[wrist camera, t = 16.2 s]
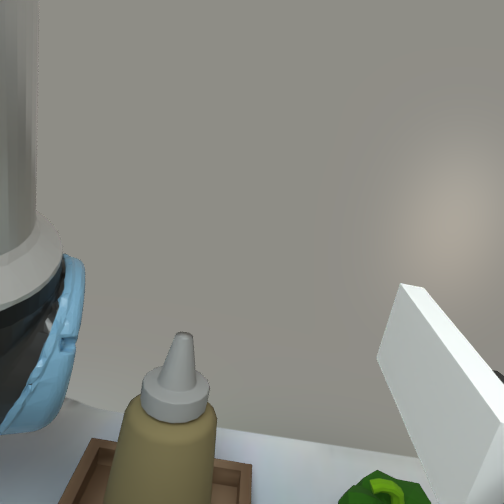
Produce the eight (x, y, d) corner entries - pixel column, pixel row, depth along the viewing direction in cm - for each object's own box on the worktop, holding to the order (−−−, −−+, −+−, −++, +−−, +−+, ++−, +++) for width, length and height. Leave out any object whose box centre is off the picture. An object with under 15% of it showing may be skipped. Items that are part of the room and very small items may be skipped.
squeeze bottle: (76, 535, 36) (96, 326, 30) (158, 482, 42) (186, 300, 37) (143, 616, 31) (180, 386, 26) (224, 542, 37) (267, 345, 32)
